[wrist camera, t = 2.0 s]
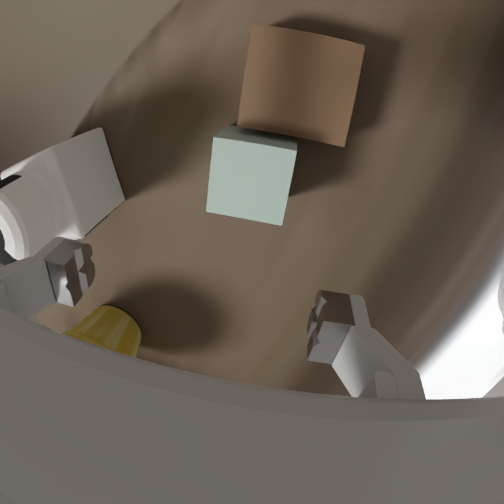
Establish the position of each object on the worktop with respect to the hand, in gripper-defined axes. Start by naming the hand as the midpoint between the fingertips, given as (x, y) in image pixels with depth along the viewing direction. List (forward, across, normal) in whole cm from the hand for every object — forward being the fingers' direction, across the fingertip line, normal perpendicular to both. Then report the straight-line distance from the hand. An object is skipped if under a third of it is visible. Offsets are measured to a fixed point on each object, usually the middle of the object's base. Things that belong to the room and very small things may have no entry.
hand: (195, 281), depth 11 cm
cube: (+15, -1, 0) cm, 15 cm away
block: (+15, -3, -7) cm, 17 cm away
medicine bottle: (+16, +15, +3) cm, 22 cm away
